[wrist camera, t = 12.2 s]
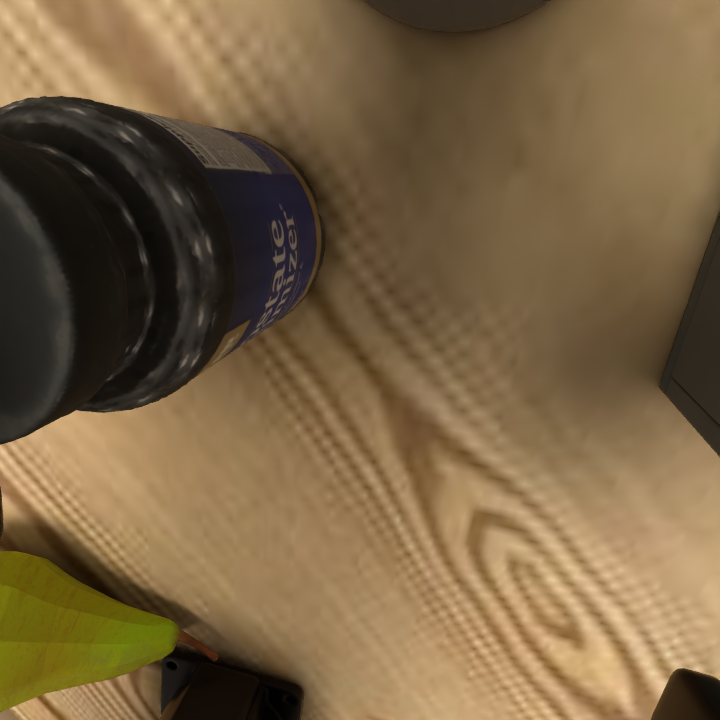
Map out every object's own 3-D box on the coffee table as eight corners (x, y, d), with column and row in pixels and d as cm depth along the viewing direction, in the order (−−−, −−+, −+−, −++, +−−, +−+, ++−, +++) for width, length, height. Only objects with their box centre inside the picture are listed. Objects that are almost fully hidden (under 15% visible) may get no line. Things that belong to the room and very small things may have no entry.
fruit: (-41, 525, 24) (231, 541, 27) (-63, 667, 24) (215, 670, 26) (-141, 577, 18) (227, 590, 21) (-171, 769, 18) (206, 761, 20)
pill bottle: (289, 351, 19) (69, 558, 9) (135, 276, 19) (-258, 388, 9) (359, 180, 17) (173, 183, 6) (183, 97, 17) (-267, -27, 7)
